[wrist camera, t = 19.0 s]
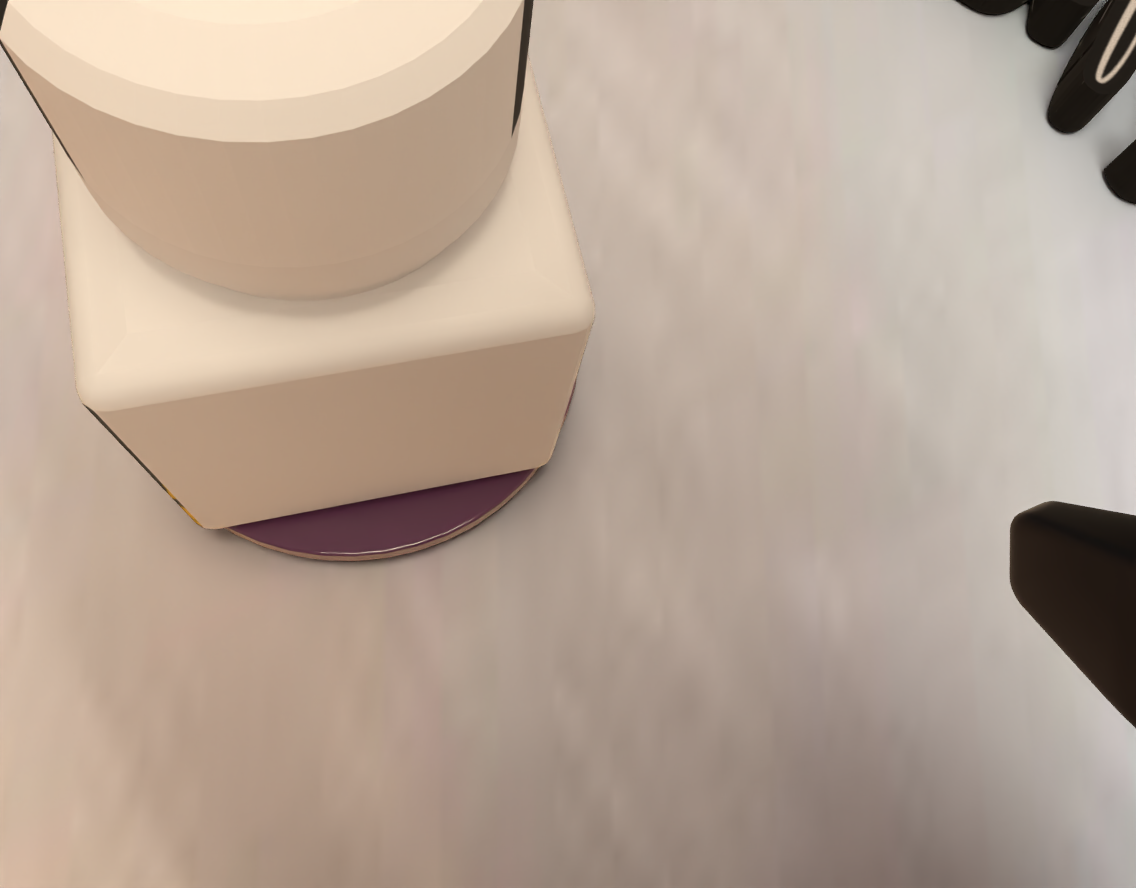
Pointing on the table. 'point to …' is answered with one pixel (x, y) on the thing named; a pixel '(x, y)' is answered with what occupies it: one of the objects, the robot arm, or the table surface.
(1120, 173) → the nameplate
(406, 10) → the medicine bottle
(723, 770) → the table surface
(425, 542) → the saucer
